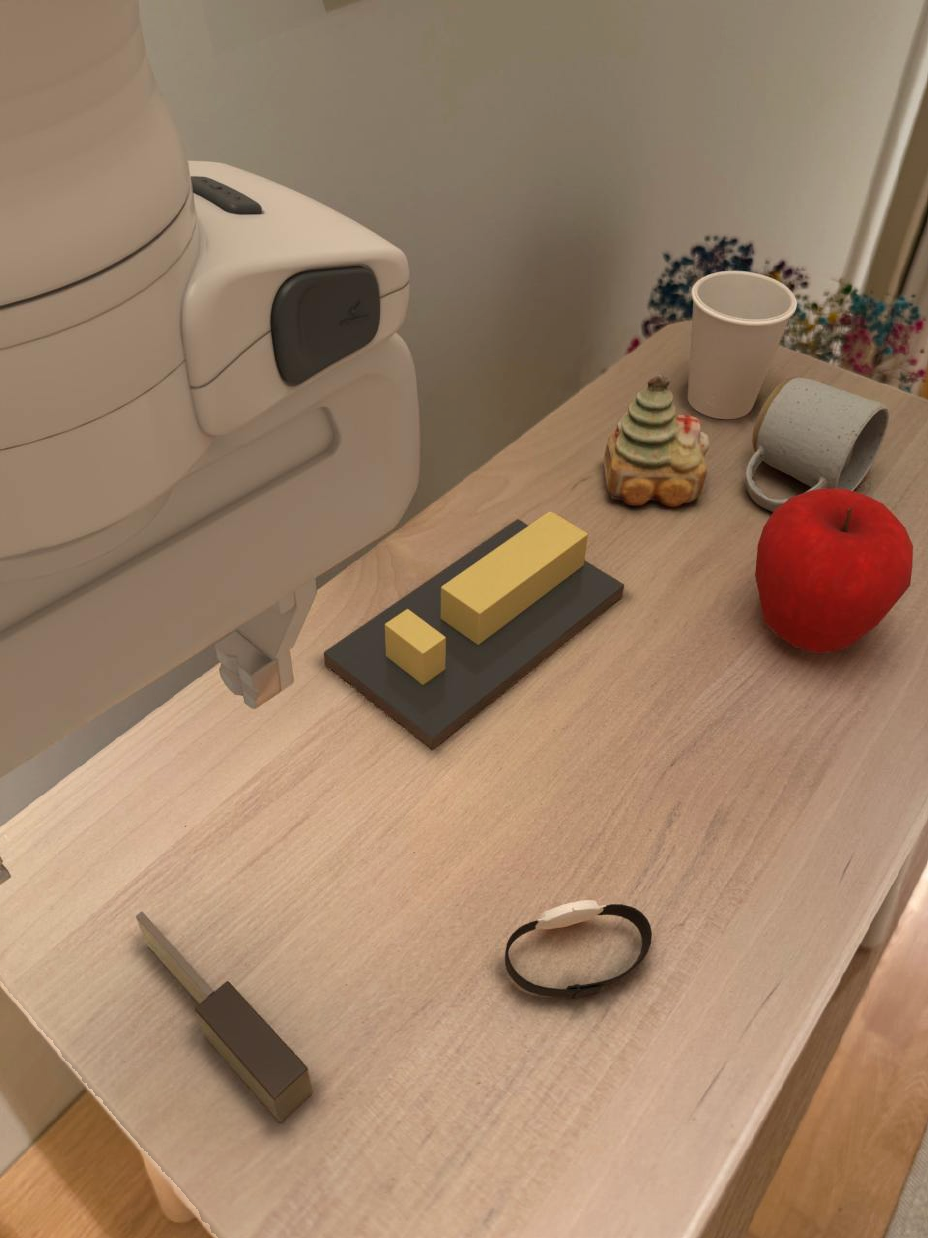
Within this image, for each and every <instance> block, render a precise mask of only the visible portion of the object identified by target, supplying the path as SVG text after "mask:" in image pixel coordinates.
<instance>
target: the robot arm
mask: <svg viewBox="0 0 928 1238" xmlns="http://www.w3.org/2000/svg"><path fill="white" fill-rule="evenodd" d="M145 43H146V42H145V39H144V32H143V27H142V20H141V15H140V0H0V779H1V778H3V777H5V776H7V775H8V774H9V773H11V772H13V771H14V770H16V769H17V768H19V767H20V766H22V765H24V764H25V763H27V762H28V761H30V760H32V759H33V758H34V757H36V756H38V755H40V754H41V753H43V752H44V751H45V750H47V749H49V748H51V747H52V746H54V745H55V744H57V743H58V742H60V741H61V740H63V739H64V738H66V737H67V736H70V735H71V734H72V733H74V732H75V731H77V730H79V729H80V728H82V727H84V726H85V725H86V724H88V723H91V722H92V721H93V720H94V719H96V718H97V717H100V715H102V714H104V713H105V712H107V711H109V710H110V709H112V708H114V707H115V706H117V705H118V704H120V703H121V702H123V701H124V700H126V699H128V698H129V697H131V696H132V695H134V694H136V693H137V692H139V691H140V690H142V689H143V688H145V687H147V686H148V685H149V684H151V683H153V682H154V681H156V680H158V679H159V678H161V677H163V676H164V675H166V674H167V673H168V672H170V671H171V670H173V669H175V668H176V667H178V666H179V665H181V664H183V663H185V662H186V661H187V660H189V659H190V658H192V657H194V656H195V655H197V654H198V653H200V652H202V651H204V650H205V649H206V648H208V647H209V646H211V645H212V644H213V647H214V652H215V658H216V660H217V661H218V662H219V663H220V665H219V668H218V671H219V675H220V678H221V680H222V681H223V683H224V685H225V686H226V687H227V688H228V690H229V691H230V692H231V693H233V695H235V696H241V697H242V698H243V703H244V704H245V705H246V706H247V707H249V708H250V709H252V710H256V709H258V708H260V707H261V706H262V705H264V704H265V703H266V702H268V701H270V700H271V699H273V698H274V697H275V696H277V695H279V694H280V693H281V692H283V691H285V690H286V689H288V688H289V687H291V686H292V685H293V684H294V683H295V678H294V670H293V664H292V656H291V655H292V654H291V650H292V649H293V648H294V646H295V644H296V643H297V639H298V638H299V635H300V633H301V631H302V629H303V626H304V624H305V622H306V620H307V617H308V615H309V613H310V610H311V609H312V606H313V604H314V602H315V599H316V597H317V595H318V587H317V578H318V577H320V576H322V575H323V574H324V573H326V572H327V571H329V570H330V569H333V567H335V566H337V565H339V564H340V563H341V562H343V561H344V560H346V559H348V558H349V557H351V556H352V555H355V554H357V552H359V551H360V550H362V549H364V548H365V547H366V546H369V545H370V544H371V543H374V541H377V540H379V539H380V538H381V537H383V536H385V535H386V534H388V533H390V532H391V531H393V529H395V528H396V527H397V526H398V524H399V523H400V522H401V520H402V518H403V516H404V515H405V513H406V512H407V509H408V508H409V505H410V503H411V502H412V500H413V497H414V495H415V494H416V492H417V489H418V486H419V480H420V473H421V422H420V421H421V420H420V404H419V403H420V402H419V391H418V381H417V372H416V367H415V363H414V358H413V356H412V353H411V350H410V348H409V347H408V344H407V343H406V341H405V340H404V339H403V337H402V336H401V335H400V334H399V333H398V331H399V330H400V329H401V327H402V326H403V324H404V322H405V320H406V317H407V314H408V309H409V305H410V291H411V289H410V288H411V280H410V279H411V276H410V275H411V273H410V266H409V262H408V258H407V256H406V254H405V253H404V252H403V250H401V249H400V248H399V247H398V246H396V245H394V244H392V243H391V242H390V241H388V240H387V239H385V238H384V237H382V236H380V235H379V234H377V233H376V232H374V231H373V230H370V229H369V228H367V227H366V226H364V225H363V224H361V223H359V222H357V221H355V220H354V219H352V218H350V217H348V216H346V215H345V214H343V213H341V212H340V211H337V210H336V209H333V208H332V207H330V206H327V205H325V204H324V203H321V202H320V201H318V200H316V199H314V198H312V197H310V196H307V195H306V194H302V193H301V192H298V191H297V190H295V189H292V188H290V187H287V186H285V185H283V184H281V183H278V182H275V181H273V180H271V179H269V178H265V177H263V176H261V175H258V174H255V173H253V172H250V171H248V170H245V169H242V168H239V167H236V166H233V165H231V164H227V163H224V162H218V161H208V160H189V159H188V156H187V151H186V149H185V145H184V142H183V138H182V136H181V133H180V130H179V128H178V125H177V123H176V121H175V118H174V116H173V114H172V112H171V110H170V108H169V105H168V104H167V101H166V99H165V97H164V95H163V93H162V91H161V89H160V86H159V84H158V81H157V79H156V76H155V74H154V72H153V69H152V66H151V62H150V58H149V55H148V51H147V49H146V44H145ZM3 862H4V860H3V858H2V857H1V855H0V886H1V885H3V884H4V883H7V882H8V881H9V880H10V879H11V878H12V875H11V873H10V871H9V870H8V869H7V867H6V866H5V864H3Z"/></svg>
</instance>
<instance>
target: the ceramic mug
mask: <svg viewBox="0 0 928 1238" xmlns="http://www.w3.org/2000/svg"><path fill="white" fill-rule="evenodd" d="M757 415H758V416H757V417H756V420H755V424H754V427H753V432H752V440H751V443H752V448H753V452H754V453H753V455H752V456H751V457H750V460H749V461H748V463H747V467H746V470H745V485H746V490H747V493H748V495H749V496H750V498H751V500H752V501H753V502H755V504H756V505H757V506H759V507H761V508H763V509H764V510H767V511H769V512H772V513H773V512H774V511H775V510H776V509H777V508H778V507H780V506H781V505H782V504H783V503H785V502H786V501H787V500H788V499H789V498H783V499H780V498H779V499H774V498H770V497H768V496H766V495H765V494H764V493H763V491H762V489H761V488H760V487H758V486H756V485H757V484H756V483H755V481H754V479H753V477H754V475H755V472H756V471H757V469H758V468H759V466H760V465H761V463H762V462H764V463H765V464H766V465H768V466H770V467H772V468H773V469H776V470H777V471H780V472H781V473H784V474H786V475H788V476H790V477H792V478H794V479H795V480H797V481H799V482H800V483H802V484H804V485H807V486H808V487H810V489H808V490H807V491H806V492H808V491H811V490H817V489H847V490H850V491H855V489H856V488H858V486H859V485H860V484H861V483H862V481H863V480H864V479H865V476H866V475H867V474H868V472H869V471H870V469H871V467H872V465H873V464H874V462H875V461H876V459H877V456H878V453H879V452H880V450H881V447H882V444H883V442H884V438H885V436H886V432H887V429H888V426H889V420H890V410H889V407H888V406H887V405H886V404H884V403H882V402H879V401H876V400H873V399H870V398H867V397H864V396H861V395H858V394H855V393H853V392H849V391H846V390H843V389H840V388H837V387H834V386H831V385H829V384H826V383H824V382H821V381H818V380H816V379H815V380H814V379H810V378H805V377H798V376H797V377H796V376H794V377H789V378H786V379H785V380H783V381H781V382H780V383H779V384H778V385H776V387H775V388H774V389H773V391H772V392H770V394H769V396H767V398H766V400H765V402H764V403H763V404H762V407H761V409H760V411H759V413H758V414H757Z"/></svg>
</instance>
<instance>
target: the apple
mask: <svg viewBox="0 0 928 1238" xmlns="http://www.w3.org/2000/svg"><path fill="white" fill-rule="evenodd" d="M807 491H808V490H807ZM807 491H804V492H803V493H800V494H798V495H795V496H792V497H790V498H787V499H788V500H787V501H786V502H785V503H783V504H782V505H781V506H780V507H778V508H777V509H776V510H775V511H774V512H772V513H771V515H770V517H769V518H768V520H767V521H766V523H765V524H764V525H763V527H762V530H761V533H760V536H759V540H758V542H757V550H756V559H755V560H756V561H755V572H754V576H755V581H756V588H757V592H758V599H759V605H760V609H761V613H762V617H763V621H764V623H765V624H766V625H767V626H768V627H769V628H770V630H772V631H773V633H774V634H775V635H777V636H778V637H779V638H781V639H782V640H784V641H786V642H787V643H788V644H790V645H791V646H793V647H795V648H798V649H802V650H806V651H808V652H813V653H816V654H819V653H820V654H821V653H831V652H839V651H840V650H844V649H845V648H846V649H847V648H848V647H851V646H852V645H854V644H856V643H857V642H858V641H860V639H862V638H863V637H864V636H866V635H867V634H868V633H869V632H870V631H872V630H873V629H874V628H875V627H878V625H879V624H880V622H882V621H883V619H885V617H886V616H887V615H888V614H889V613H890V611H891V610H892V609H893V608H894V606H895V605H896V604H897V603H898V602H899V600H900V599H901V598H902V597H903V595H904V594H905V593H906V592H907V591H908V589H909V588H910V587H911V583H912V575H913V573H912V572H913V562H914V561H913V560H914V545H913V542H912V539H911V537H910V535H909V533H908V530H907V528H906V527H905V526H904V525H903V523H902V521H900V519H898V517H897V516H896V515H895V514H894V513H893V512H892V511H891V510H890V509H889V508H888V507H887V506H886V505H885V504H884V503H883V502H880V501H878V500H876V499H875V498H873V497H870V496H868V495H866V494H864V493H860V492H857V491H855V490H853V491H850V490H847V489H817V490H811V491H808V492H807Z"/></svg>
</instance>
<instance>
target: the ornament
mask: <svg viewBox="0 0 928 1238" xmlns="http://www.w3.org/2000/svg"><path fill="white" fill-rule="evenodd" d="M670 382H671V379H670V378H669V377H666V376H664V375H662V374H657V375H655V376H654V377H652V378H650V379H648V381H647V387H645V388H644V389H642V390H640V391H638V392H637V394H636V396H635V400H634V401H632V402H631V403H630V404H629V405H628V407H627V412H626V413H625V414H624V415H623V416H622V417H621V419H620V420H619V421H618V422H617V424H616V429H615V431H614V432H613V433H612V434H610V435H609V437H608V438H607V442H606V446H605V450H604V456H603V467H604V472H605V473H604V475H605V486H606V490H607V492H608V493H609V496H610V498H611V499H612V500H619V501H623V503H624V504H626V505H628V506H631V507H632V506H633V507H640V506H643V505H645V504H647V503H648V502H649V501H654V502H659V503H660V504H661V505H662V506H663V505H664V506H666V507H669V508H674V507H678V506H680V505H683V504H685V503H686V504H687V503H691V502H693V501H695V500H696V499H697V498H698V497H699V496H700V495H702V491H703V488H704V484H705V482H706V478H707V477H706V476H707V472H708V467H707V463H706V454H707V452H708V451H709V449H710V447H711V446H710V445H711V441H710V438H709V436H708V434H706V433H705V432H703V431H702V422H701V420H700V419H698V418H697V417H696V416H692V415H690V414H688V413H687V414H677V415H676V410H677V409H676V406H675V405H674V404H673V401H674V394H673V393H672V392H671V391H670V390H669V389H668V387H669V385H670Z"/></svg>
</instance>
